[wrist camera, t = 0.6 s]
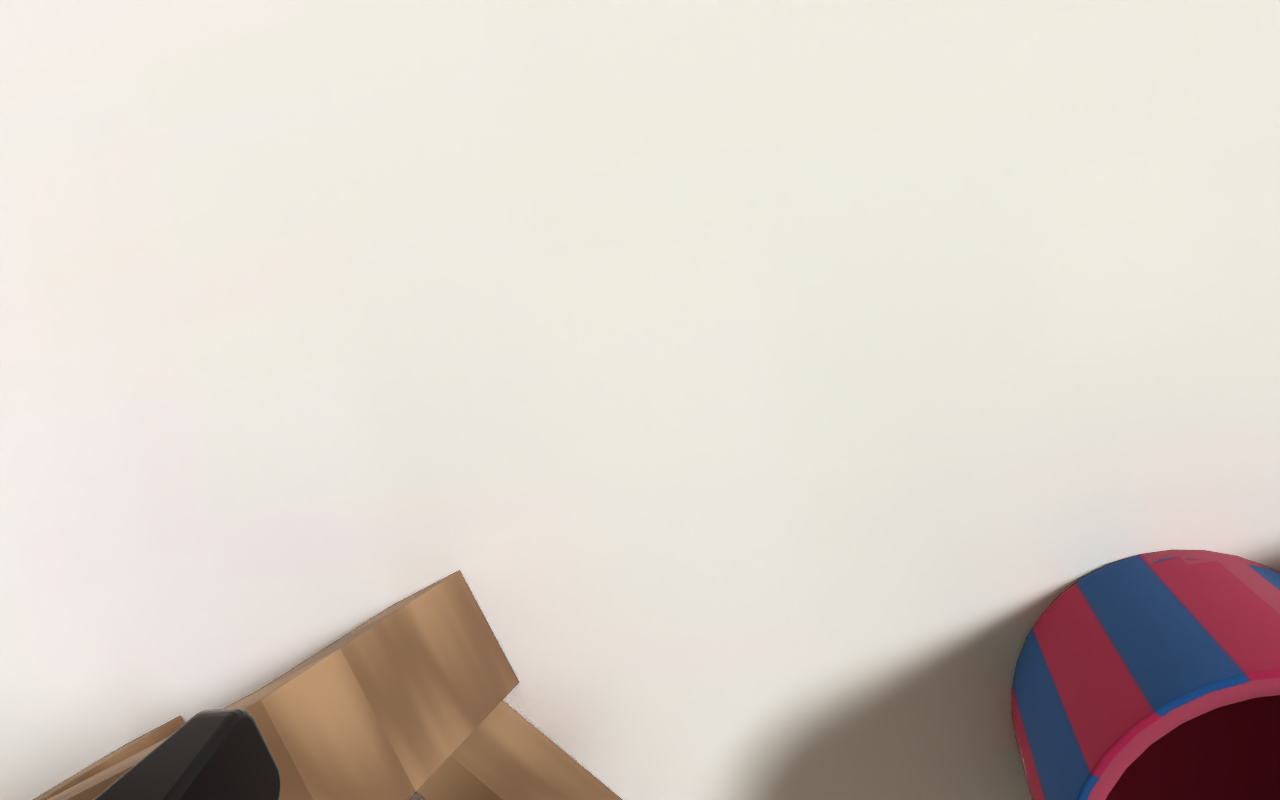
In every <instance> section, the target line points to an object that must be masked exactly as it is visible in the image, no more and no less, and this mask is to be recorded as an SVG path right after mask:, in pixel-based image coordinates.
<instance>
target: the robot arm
mask: <svg viewBox="0 0 1280 800" xmlns="http://www.w3.org/2000/svg"><path fill="white" fill-rule="evenodd" d="M280 790H281V777H280V772H279V768H278V765H277V763H276V761H275V759H274V757H273V755H272V753H271V751H270V749H269V747H268V745H267V743H266V741H265V739H264V737H263V735H262V733H261V731H260V729H259V727H258V725H257V723H256V721H255V719H254V717H253V716H252V715H251V714H250V713H249V712H247V711H246V710H244V709H216V710H206V711H202V712H200V713H198V714H196V715H195V716H194V717H192V718H191V719H190V720H188V721H187V722H186V723H185V724H184V725H182V726H181V727H180V728H179V729H178V730H176V731H175V732H174V733H173V734H172V735H170V736H169V737H168V738H167V739H166V740H164V741H163V742H162V743H161V744H160V745H158V746H157V747H156V748H155V749H154V750H152V751H151V752H150V753H149V754H148V755H146V756H145V757H144V758H143V759H142V760H140V761H139V762H138V763H137V764H136V765H134V766H133V767H132V768H131V769H130V770H128V771H127V772H126V773H125V774H124V775H122V776H121V777H120V778H119V779H118V780H116V781H115V782H114V783H113V784H112V785H110V786H109V787H108V788H107V789H105V790H104V791H103V792H102V793H101V794H99V795H98V796H97V797H96V798H95V799H93V800H279V797H280Z"/></svg>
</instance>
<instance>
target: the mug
mask: <svg viewBox="0 0 1280 800" xmlns="http://www.w3.org/2000/svg"><path fill="white" fill-rule="evenodd" d="M1012 719H1013V724H1014V729H1015V735H1016V740H1017V744H1018V748H1019V752H1020V756H1021V759H1022V763H1023V767H1024V771H1025V774H1026V778H1027V782H1028V786H1029V790H1030V793H1031V797H1032V800H1280V573H1279V572H1277V571H1275V570H1273V569H1271V568H1269V567H1267V566H1264V565H1261V564H1258V563H1256V562H1253V561H1250V560H1247V559H1244V558H1241V557H1238V556H1234V555H1228V554H1223V553H1217V552H1211V551H1206V550H1167V551H1159V552H1152V553H1145V554H1140V555H1136V556H1133V557H1130V558H1127V559H1123V560H1120V561H1117V562H1113V563H1111V564H1109V565H1107V566H1105V567H1103V568H1101V569H1099V570H1097V571H1095V572H1093V573H1091V574H1089V575H1087V576H1085V577H1083V578H1082V579H1081V580H1079V581H1078V582H1077V583H1075V584H1074V585H1072V586H1071V587H1070V588H1068V589H1067V590H1066V591H1064V592H1063V593H1062V594H1061V595H1060V596H1059V597H1058V598H1057V599H1056V600H1055V601H1054V602H1053V603H1052V604H1051V605H1050V606H1049V607H1048V608H1047V609H1046V610H1045V611H1044V613H1043V614H1042V615H1041V616H1040V618H1039V619H1038V621H1037V623H1036V624H1035V626H1034V627H1033V629H1032V630H1031V632H1030V633H1029V635H1028V636H1027V638H1026V641H1025V643H1024V646H1023V648H1022V651H1021V653H1020V656H1019V658H1018V661H1017V664H1016V669H1015V675H1014V680H1013V685H1012Z"/></svg>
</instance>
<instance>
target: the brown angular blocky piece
mask: <svg viewBox="0 0 1280 800" xmlns="http://www.w3.org/2000/svg"><path fill="white" fill-rule="evenodd" d="M518 683H519V681H518V679H517V677H516V675H515V673H514V671H513V669H512V668H511V666H510V664H509V662H508V660H507V658H506V656H505V654H504V652H503V651H502V649H501V647H500V645H499V643H498V641H497V639H496V637H495V636H494V634H493V632H492V630H491V628H490V626H489V624H488V622H487V620H486V619H485V617H484V615H483V613H482V611H481V609H480V607H479V605H478V604H477V602H476V600H475V598H474V596H473V594H472V592H471V590H470V588H469V587H468V585H467V583H466V581H465V579H464V577H463V575H462V573H461V572H460V570H459V571H457V572H455V573H453V574H451V575H449V576H448V577H446V578H444V579H442V580H440V581H438V582H436V583H434V584H432V585H430V586H428V587H426V588H425V589H423V590H421V591H419V592H417V593H415V594H413V595H411V596H409V597H407V598H405V599H403V600H402V601H400V602H398V603H396V604H394V605H392V606H391V607H389V608H387V609H386V610H384V611H383V612H381V613H380V614H378V615H376V616H375V617H373V618H372V619H370V620H369V621H367V622H365V623H364V624H362V625H361V626H359V627H358V628H356V629H354V630H353V631H351V632H350V633H348V634H347V635H345V636H343V637H342V638H340V639H339V640H337V641H336V642H334V643H332V644H331V645H329V646H328V647H326V648H325V649H323V650H321V651H320V652H318V653H317V654H315V655H314V656H312V657H310V658H309V659H307V660H306V661H304V662H303V663H301V664H299V665H298V666H296V667H295V668H293V669H292V670H290V671H288V672H287V673H285V674H284V675H282V676H281V677H279V678H277V679H276V680H274V681H273V682H271V683H269V684H268V685H266V686H265V687H263V688H262V689H260V690H258V691H256V692H254V693H253V694H251V695H249V696H247V697H245V698H243V699H241V700H239V701H237V702H235V703H233V704H231V705H229V706H227V707H225V708H224V709H244V710H246V711H247V712H249V713H250V714H251V715H252V716H253V717H254V719H255V721H256V723H257V725H258V727H259V729H260V731H261V733H262V735H263V737H264V739H265V741H266V743H267V745H268V747H269V749H270V751H271V753H272V755H273V757H274V759H275V761H276V763H277V765H278V768H279V772H280V777H281V790H280V797H279V800H408V799H409V798H410V797H411V796H412V795H413V794H414V793H415V792H417V793H418V794H420V795H421V796H422V797H423V798H424V799H425V800H622V799H621V798H620V797H618V796H617V795H616V794H615V793H614V792H612V791H611V790H610V789H609V788H608V787H606V786H605V785H604V784H603V783H602V782H600V781H599V780H598V779H597V778H596V777H594V776H593V775H592V774H591V773H590V772H588V771H587V770H586V769H585V768H584V767H582V766H581V765H580V764H579V763H577V762H576V761H575V760H574V759H573V758H571V757H570V756H569V755H568V754H567V753H565V752H564V751H563V750H562V749H561V748H559V747H558V746H557V745H556V744H555V743H553V742H552V741H551V740H550V739H549V738H547V737H546V736H545V735H544V734H543V733H541V732H540V731H539V730H538V729H537V728H535V727H534V726H533V725H532V724H531V723H529V722H528V721H527V720H526V719H525V718H523V717H522V716H521V715H520V714H518V713H517V712H516V711H515V710H514V709H512V708H511V707H510V706H509V705H508V704H506V703H505V702H504V701H503V699H504V698H505V697H506V696H507V695H508V694H509V693H510V692H511V691H512V690H513V688H514V687H515V686H516V685H517V684H518ZM184 724H185V722H184V720H183V718H182V717H181V716H179V717H177V718H175V719H173V720H171V721H170V722H168V723H166V724H164V725H162V726H160V727H158V728H156V729H154V730H152V731H150V732H148V733H147V734H145V735H143V736H141V737H139V738H137V739H135V740H133V741H131V742H129V743H127V744H125V745H124V746H122V747H120V748H119V749H117V750H115V751H114V752H112V753H110V754H109V755H107V756H105V757H104V758H102V759H100V760H99V761H97V762H95V763H94V764H92V765H90V766H89V767H87V768H85V769H83V770H82V771H80V772H78V773H77V774H75V775H73V776H72V777H70V778H68V779H67V780H65V781H63V782H62V783H60V784H58V785H57V786H55V787H53V788H52V789H50V790H48V791H47V792H45V793H43V794H42V795H40V796H38V797H37V798H35V799H33V800H93V799H95V798H96V797H97V796H98V795H99V794H101V793H102V792H103V791H104V790H105V789H107V788H108V787H109V786H110V785H112V784H113V783H114V782H115V781H116V780H118V779H119V778H120V777H121V776H122V775H124V774H125V773H126V772H127V771H128V770H130V769H131V768H132V767H133V766H134V765H136V764H137V763H138V762H139V761H140V760H142V759H143V758H144V757H145V756H146V755H148V754H149V753H150V752H151V751H152V750H154V749H155V748H156V747H157V746H158V745H160V744H161V743H162V742H163V741H164V740H166V739H167V738H168V737H169V736H170V735H172V734H173V733H174V732H175V731H176V730H178V729H179V728H180V727H181V726H182V725H184Z"/></svg>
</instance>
